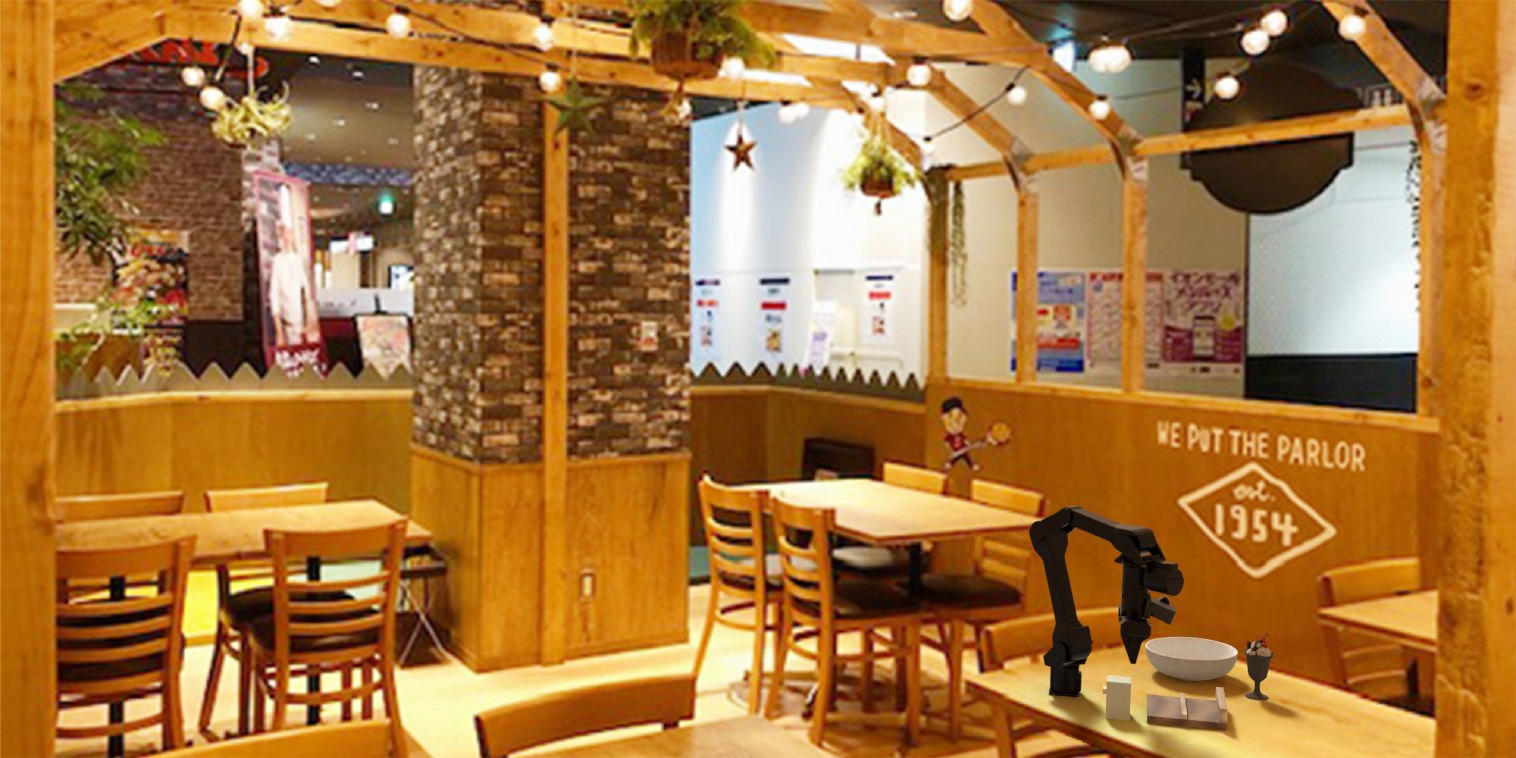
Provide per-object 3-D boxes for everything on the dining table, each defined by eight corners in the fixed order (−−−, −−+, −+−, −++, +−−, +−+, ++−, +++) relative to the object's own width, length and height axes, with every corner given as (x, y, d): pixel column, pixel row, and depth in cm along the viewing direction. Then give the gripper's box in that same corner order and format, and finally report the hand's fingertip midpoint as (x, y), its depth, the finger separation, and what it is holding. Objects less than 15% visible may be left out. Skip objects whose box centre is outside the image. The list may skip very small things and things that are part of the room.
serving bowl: (1161, 659, 340) (1162, 631, 339) (1247, 674, 327) (1249, 645, 327) (1131, 678, 323) (1132, 649, 322) (1220, 694, 311) (1221, 664, 310)
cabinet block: (1101, 717, 292) (1102, 681, 292) (1102, 710, 297) (1103, 674, 297) (1129, 720, 291) (1131, 683, 290) (1130, 713, 296) (1131, 677, 295)
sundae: (1275, 702, 305) (1278, 636, 304) (1243, 700, 306) (1246, 634, 305) (1270, 693, 311) (1273, 628, 310) (1239, 691, 313) (1241, 626, 312)
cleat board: (1146, 722, 289) (1147, 701, 289) (1146, 700, 305) (1147, 680, 304) (1226, 730, 285) (1227, 709, 285) (1222, 707, 300) (1223, 687, 300)
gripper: (1177, 599, 282) (1174, 673, 284) (1171, 579, 301) (1168, 649, 302) (1121, 595, 285) (1118, 668, 286) (1119, 576, 303) (1116, 645, 304)
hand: (1132, 657), depth 295 cm, fingers open, 9 cm apart
